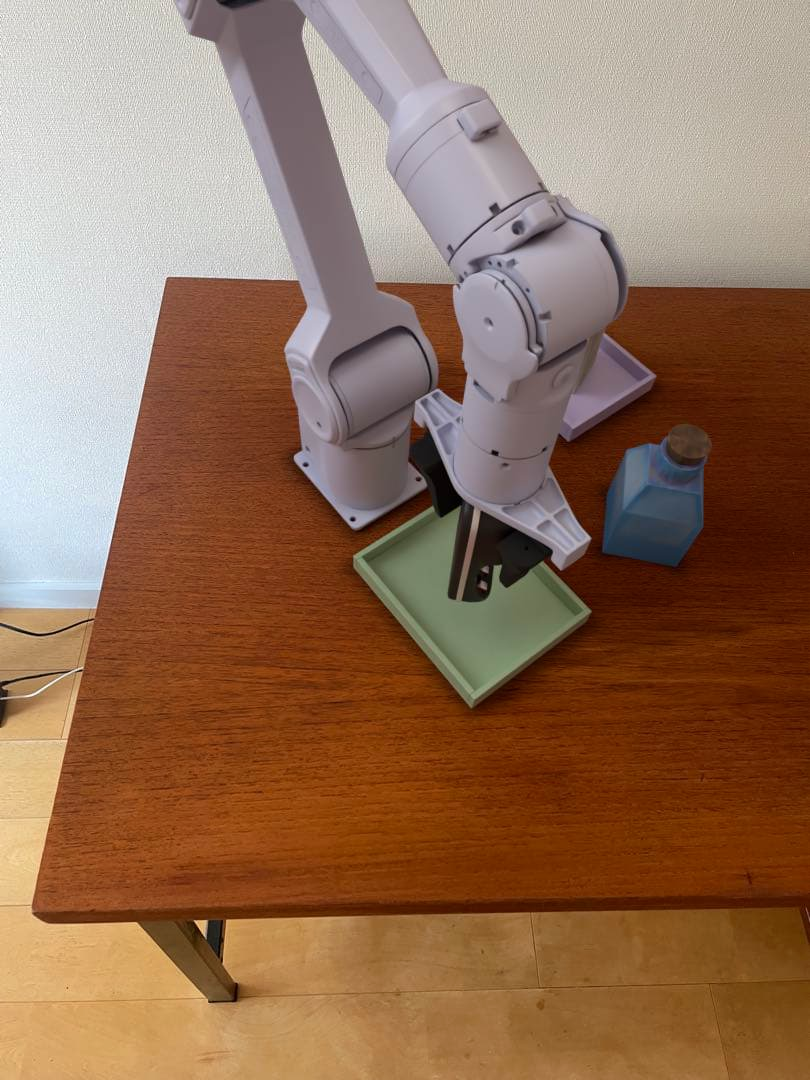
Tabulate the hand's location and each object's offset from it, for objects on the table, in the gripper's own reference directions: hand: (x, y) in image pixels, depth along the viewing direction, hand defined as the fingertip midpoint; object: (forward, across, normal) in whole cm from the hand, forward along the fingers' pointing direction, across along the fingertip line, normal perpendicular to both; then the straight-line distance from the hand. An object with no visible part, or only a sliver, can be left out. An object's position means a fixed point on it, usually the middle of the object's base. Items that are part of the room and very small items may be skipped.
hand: (480, 542), depth 58 cm
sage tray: (+8, 0, 0) cm, 8 cm away
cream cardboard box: (+8, +13, -23) cm, 28 cm away
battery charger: (+4, 0, 0) cm, 4 cm away
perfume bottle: (+8, -4, -16) cm, 18 cm away
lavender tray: (+8, +13, -23) cm, 28 cm away
